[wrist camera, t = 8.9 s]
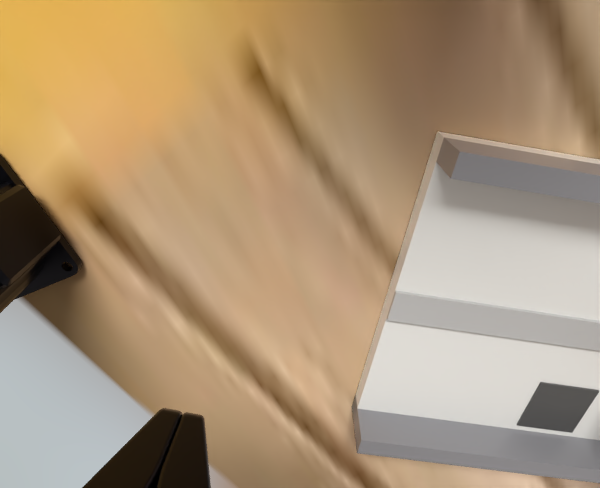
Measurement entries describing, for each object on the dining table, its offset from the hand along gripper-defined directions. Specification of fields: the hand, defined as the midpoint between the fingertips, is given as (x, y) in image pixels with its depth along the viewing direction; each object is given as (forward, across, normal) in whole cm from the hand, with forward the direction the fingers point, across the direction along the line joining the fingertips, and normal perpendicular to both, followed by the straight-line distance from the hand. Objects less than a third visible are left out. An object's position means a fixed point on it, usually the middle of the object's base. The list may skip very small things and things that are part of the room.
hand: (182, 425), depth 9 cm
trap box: (+13, -17, +3) cm, 21 cm away
